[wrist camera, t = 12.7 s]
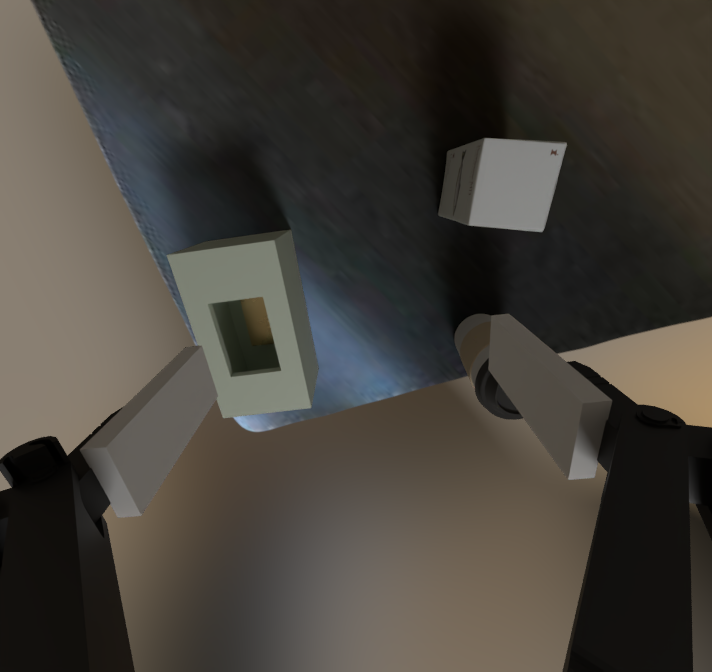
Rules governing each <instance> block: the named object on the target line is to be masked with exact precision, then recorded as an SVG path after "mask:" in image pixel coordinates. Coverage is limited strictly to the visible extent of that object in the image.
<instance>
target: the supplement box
mask: <svg viewBox="0 0 712 672" xmlns="http://www.w3.org/2000/svg"><path fill="white" fill-rule="evenodd" d="M566 146H567V143H566V142H554V141H536V140H516V139H495V138H483V139H480V140H477V141H475V142H472V143H469V144H466V145H463V146H461V147H458V148H455V149H452V150H449V151H448V152H447V159H446V168H445V176H444V183H443V189H442V195H441V201H440V207H439V212H438V215H439V216H441V217H444V218H448V219H451V220H454V221H457V222H460V223H463V224H466V225H469V226H480V227H491V228H502V229H513V230H524V231H536V232H542V231H543V230H544V228H545V224H546V221H547V216H548V213H549V209H550V205H551V201H552V198H553V194H554V190H555V187H556V183H557V179H558V175H559V171H560V168H561V164H562V160H563V156H564V153H565V149H566Z"/></svg>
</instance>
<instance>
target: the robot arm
mask: <svg viewBox="0 0 712 672" xmlns="http://www.w3.org/2000/svg"><path fill="white" fill-rule="evenodd" d="M488 370H489V371H490V373H491V374H492V375H493V377H494V378H495V379H496V381H497V382H498V384H499V385H500V386H501V388H502V389H503V390H504V392H505V393H506V395H507V396H508V397H509V399H510V400H511V402H512V403H513V404H514V406H515V407H516V408H517V410H518V411H519V413H520V414H521V415H522V417H523V418H524V419H525V421H526V422H527V424H528V425H529V426H530V428H531V429H532V431H533V432H534V433H535V435H536V436H537V437H538V439H539V440H540V442H541V443H542V444H543V446H544V447H545V448H546V450H547V451H548V453H549V454H550V455H551V457H552V458H553V460H554V461H555V462H556V464H557V465H558V466H559V468H560V469H561V471H562V472H563V473H564V475H565V476H566V477H567V479H568V480H571V479H584V478H594V477H595V473H596V469H597V465H598V462H599V463H600V464H601V465H602V467H603V468H604V469H605V470H606V471H607V472H608V473H607V477H606V481H605V485H604V489H603V493H602V497H601V504H600V508H599V512H598V517H597V521H596V526H595V530H594V535H593V539H592V544H591V548H590V552H589V557H588V561H587V566H586V570H585V574H584V579H583V583H582V588H581V592H580V597H579V601H578V606H577V610H576V614H575V619H574V624H573V628H572V632H571V637H570V641H569V645H568V650H567V654H566V659H565V663H564V668H563V672H693V652H692V611H691V610H692V608H691V607H692V606H691V562H690V561H691V560H690V519H689V518H690V515H689V503H695V504H696V506H697V508H698V511H699V513H700V515H701V517H702V520H703V522H704V524H705V526H706V529H707V531H708V533H709V536H710V538H711V540H712V428H711V427H702V426H692V425H686V424H685V422H684V421H683V420H682V419H681V418H680V417H678V416H677V415H675V414H673V413H671V412H669V411H667V410H664V409H661V408H658V407H655V406H648V405H637V404H636V403H635V402H634V401H632V400H631V399H630V398H628V397H627V396H626V395H625V394H623V393H622V392H621V391H619V390H618V389H617V388H616V387H614V386H613V385H612V384H609V382H608V381H607V380H605V379H604V378H603V377H600V375H599V374H598V373H596V372H595V371H594V370H592V369H591V368H590V367H587V366H585V365H583V364H581V363H578V362H576V361H572V362H566V361H565V360H563V359H562V358H561V357H560V356H559V355H557V354H556V353H555V352H554V351H553V350H552V349H550V348H549V347H548V346H547V345H546V344H544V343H543V342H542V341H541V340H540V339H538V338H537V337H536V336H535V335H534V334H532V333H531V332H530V331H529V330H528V329H526V328H525V327H524V326H523V325H522V324H520V323H519V322H518V321H517V320H516V319H515V318H513V317H512V316H511V315H510V314H501V315H491V330H490V349H489V367H488ZM217 397H218V394H217V391H216V388H215V384H214V381H213V378H212V375H211V372H210V369H209V366H208V363H207V360H206V357H205V354H204V350H203V347H202V345H201V346H192V347H185V348H184V349H183V350H182V351H181V352H180V353H179V354H178V355H177V356H176V357H175V358H174V359H173V360H172V361H171V362H170V363H169V364H168V365H167V366H166V367H165V368H164V369H162V370H161V372H159V373H158V374H157V376H155V377H154V378H153V379H152V380H151V381H150V382H149V383H148V384H147V385H146V386H145V387H144V388H143V389H142V390H141V391H140V392H139V393H138V394H137V395H136V396H135V397H134V398H133V399H132V400H131V401H130V402H128V403H127V405H125V406H124V407H123V408H121V409H119V410H118V411H116V412H115V413H113V414H111V415H110V416H109V417H108V418H107V419H106V420H105V421H104V422H103V423H101V426H98V427H97V428H96V429H95V430H94V431H93V432H92V434H90V435H89V436H88V437H87V438H86V439H85V440H84V441H83V442H81V444H79V445H78V446H77V447H76V448H75V449H74V450H73V451H72V452H71V453H70V454H69V455H68V456H67V455H66V453H65V451H64V449H63V448H62V446H61V444H60V443H59V441H58V439H57V438H56V437H52V436H48V437H42V438H38V439H35V440H32V441H29V442H27V443H25V444H23V445H20V446H18V447H17V448H15V449H13V450H12V451H10V452H9V453H7V454H6V455H5V456H4V457H3V458H1V459H0V471H1V473H2V474H3V476H4V477H5V478H6V480H7V481H8V482H9V484H10V486H11V487H12V488H10V489H7V490H3V491H0V672H135V671H134V666H133V660H132V654H131V649H130V644H129V638H128V634H127V628H126V624H125V618H124V612H123V607H122V602H121V597H120V591H119V586H118V580H117V575H116V570H115V564H114V559H113V555H112V549H111V543H110V538H109V533H108V528H107V523H106V521H105V519H104V518H103V516H102V514H103V513H104V512H105V510H106V509H107V507H108V506H109V505H111V506H112V508H113V510H114V511H115V513H116V515H117V517H118V518H120V517H132V516H141V515H142V514H143V513H144V511H145V509H146V508H147V506H148V505H149V503H150V502H151V500H152V499H153V497H154V495H155V494H156V492H157V491H158V489H159V487H160V486H161V484H162V483H163V481H164V480H165V478H166V476H167V475H168V474H169V472H170V470H171V469H172V467H173V466H174V464H175V463H176V461H177V459H178V458H179V456H180V455H181V453H182V452H183V450H184V449H185V447H186V445H187V444H188V442H189V441H190V439H191V438H192V436H193V434H194V433H195V431H196V430H197V428H198V427H199V425H200V424H201V422H202V420H203V419H204V417H205V416H206V414H207V412H208V411H209V410H210V408H211V406H212V405H213V403H214V401H215V400H216V399H217Z"/></svg>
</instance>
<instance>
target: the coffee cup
mask: <svg viewBox="0 0 712 672" xmlns="http://www.w3.org/2000/svg"><path fill="white" fill-rule="evenodd" d="M490 330H491V316H490V315H487V314H475V315H472V316H470V317H468V318H466V319H465V320H463V321H462V322H461V323H460V325H459V326H458V328H457V330H456V332H455V337H454V341H455V345H456V348H457V350H458V352H459V354H460V357H461V360H462V363H463V365H464V367H465V370H466V372H467V374H468V377H469V379H470V381H471V384H472V386H473V388H474V389H475V392H476V396H477V398H478V400H479V402H480V403H481V404H482V405H483V406H484V407H485V408H486V409H487V410H488V411H489V412H491V413H492V414H494V415H495V416H497V417H500V418H504V419H521V418H523V417H522V415H521V414H520V413H519V411H518V410H517V408H516V407H515V406H514V404H513V403H512V402H511V400H510V399H509V397H508V396H507V395H506V393H505V392H504V390H503V389H502V388H501V386H500V385H499V384H498V382H497V381H496V379H495V378H494V377H493V375H492V374H491V373H490V371H489V370H488V367H489V349H490Z"/></svg>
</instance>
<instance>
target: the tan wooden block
mask: <svg viewBox="0 0 712 672" xmlns="http://www.w3.org/2000/svg"><path fill="white" fill-rule="evenodd" d="M240 302H241V306H242V310H243V314H244V318H245V321H246V325H247V329H248V333H249V337H250V341H251V345H252V346H257V345H267V344H274V340H273V336H272V332H271V327H270V323H269V319H268V315H267V311H266V307H265V303H264V299H263V297H256V298H249V299H241V300H240Z"/></svg>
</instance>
